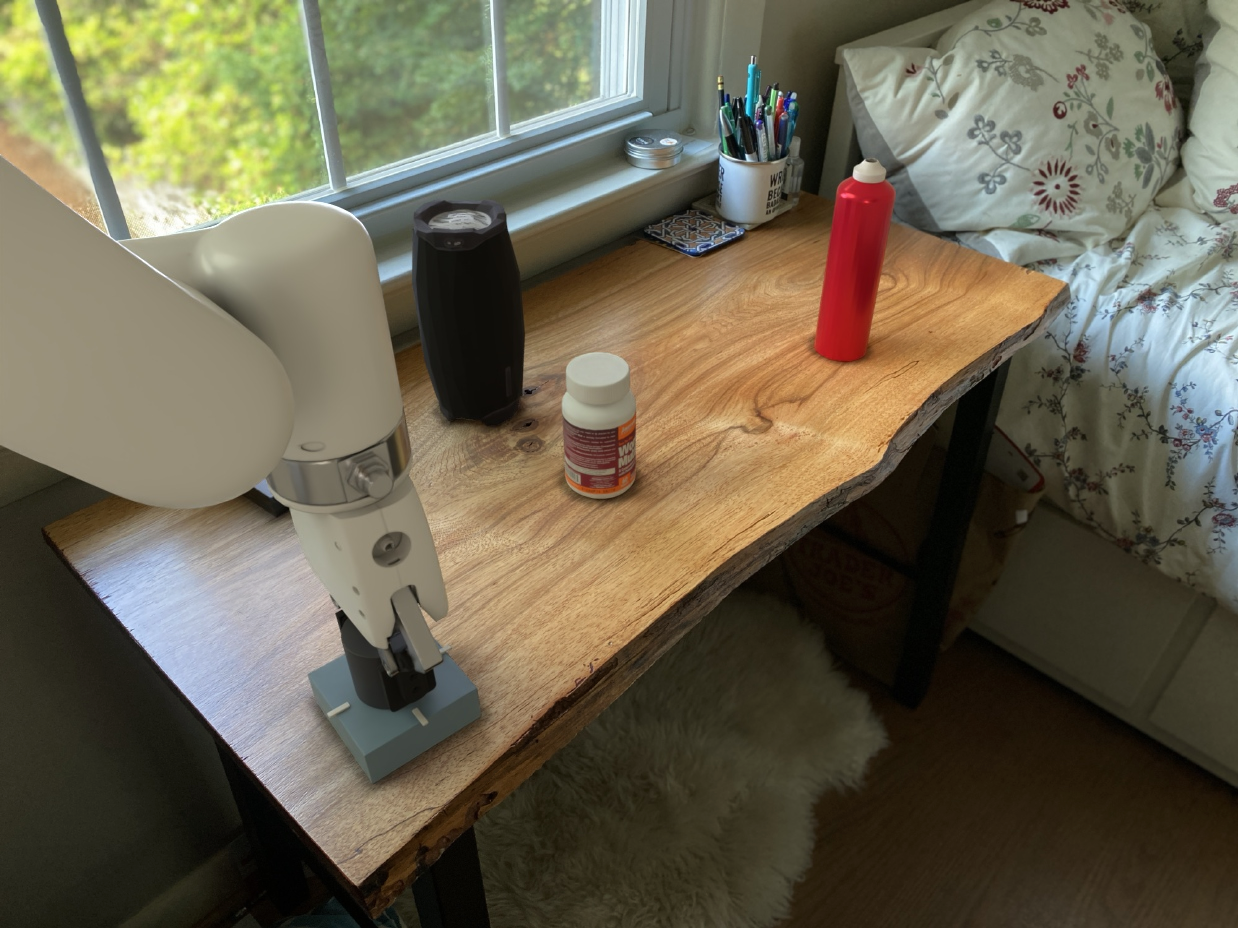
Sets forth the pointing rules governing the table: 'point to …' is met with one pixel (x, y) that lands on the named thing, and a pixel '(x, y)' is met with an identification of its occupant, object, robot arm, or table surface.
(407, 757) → the panel
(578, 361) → the pill bottle
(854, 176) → the bottle
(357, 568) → the robot arm
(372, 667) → the dial
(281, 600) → the table surface
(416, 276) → the portable speaker
